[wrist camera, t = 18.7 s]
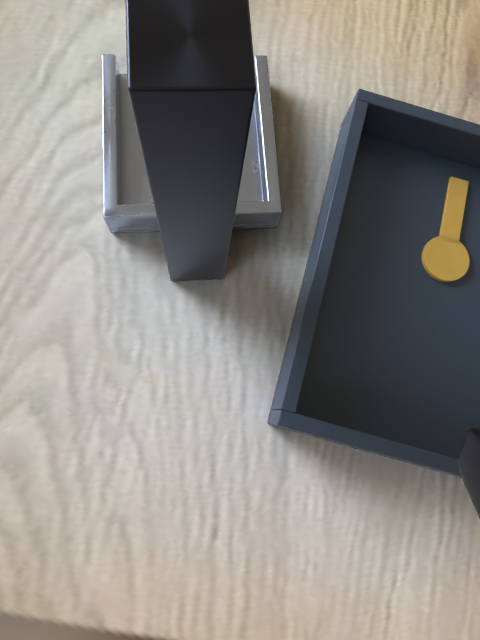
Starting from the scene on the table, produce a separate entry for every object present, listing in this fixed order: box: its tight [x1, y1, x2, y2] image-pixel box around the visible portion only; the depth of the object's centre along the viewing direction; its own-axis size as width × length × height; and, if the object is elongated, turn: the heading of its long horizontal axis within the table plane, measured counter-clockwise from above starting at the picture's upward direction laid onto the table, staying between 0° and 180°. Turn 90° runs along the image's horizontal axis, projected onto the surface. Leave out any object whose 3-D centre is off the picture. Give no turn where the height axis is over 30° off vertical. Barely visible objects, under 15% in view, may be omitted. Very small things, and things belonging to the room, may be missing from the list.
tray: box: [268, 89, 480, 478], centre depth 19 cm, size 15×12×2 cm
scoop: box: [102, 0, 282, 281], centre depth 15 cm, size 10×8×12 cm
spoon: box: [422, 177, 470, 282], centre depth 21 cm, size 5×2×1 cm, turn 165°
